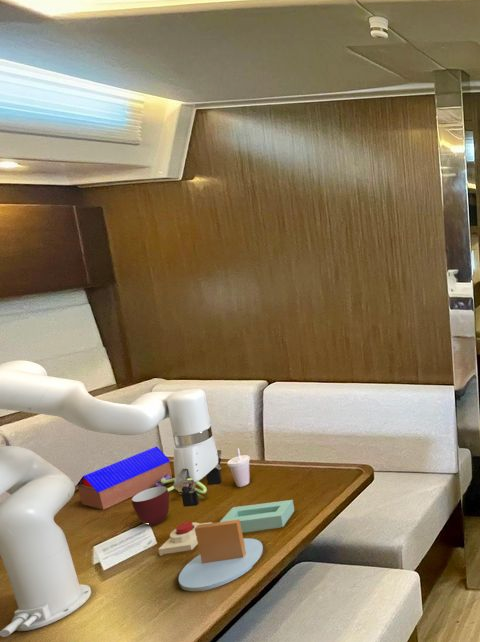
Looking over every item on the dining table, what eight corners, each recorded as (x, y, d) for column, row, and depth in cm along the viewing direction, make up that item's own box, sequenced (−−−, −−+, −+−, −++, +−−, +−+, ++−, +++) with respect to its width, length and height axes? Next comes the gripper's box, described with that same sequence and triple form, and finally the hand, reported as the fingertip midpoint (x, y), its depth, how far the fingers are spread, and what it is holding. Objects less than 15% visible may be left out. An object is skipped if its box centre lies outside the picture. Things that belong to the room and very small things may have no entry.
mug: (123, 529, 139) (116, 500, 137) (151, 512, 147) (145, 485, 145) (154, 531, 138) (147, 502, 136) (180, 514, 146) (174, 486, 144)
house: (80, 504, 152) (71, 473, 150) (152, 472, 171) (145, 444, 168) (102, 510, 149) (94, 478, 146) (174, 477, 167) (167, 448, 165)
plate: (242, 584, 118) (241, 580, 118) (161, 597, 114) (160, 593, 114) (275, 537, 135) (274, 533, 135) (206, 547, 131) (205, 543, 131)
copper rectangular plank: (243, 557, 126) (236, 522, 123) (202, 563, 124) (194, 528, 121) (246, 553, 127) (239, 519, 125) (205, 559, 125) (198, 524, 123)
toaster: (283, 528, 139) (281, 515, 138) (220, 537, 136) (217, 523, 135) (294, 511, 147) (292, 499, 146) (235, 519, 143) (232, 507, 142)
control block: (192, 551, 130) (189, 539, 129) (159, 555, 128) (156, 543, 127) (213, 528, 139) (210, 516, 139) (183, 532, 138) (180, 520, 137)
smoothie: (244, 489, 159) (238, 453, 157) (227, 489, 159) (219, 453, 157) (258, 478, 166) (252, 443, 163) (241, 478, 166) (234, 444, 163)
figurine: (128, 521, 143) (124, 505, 142) (162, 478, 167) (159, 464, 166) (201, 504, 151) (198, 489, 150) (224, 465, 175) (222, 452, 174)
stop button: (188, 534, 132) (187, 528, 131) (173, 536, 131) (172, 530, 131) (196, 525, 135) (195, 520, 135) (182, 527, 134) (181, 522, 134)
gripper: (198, 422, 126) (208, 478, 129) (151, 453, 109) (163, 516, 112) (229, 420, 127) (237, 475, 131) (187, 451, 111) (198, 512, 114)
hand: (203, 494), depth 122 cm, fingers open, 9 cm apart
